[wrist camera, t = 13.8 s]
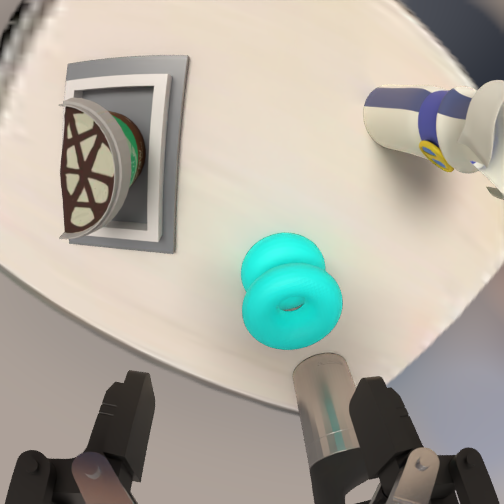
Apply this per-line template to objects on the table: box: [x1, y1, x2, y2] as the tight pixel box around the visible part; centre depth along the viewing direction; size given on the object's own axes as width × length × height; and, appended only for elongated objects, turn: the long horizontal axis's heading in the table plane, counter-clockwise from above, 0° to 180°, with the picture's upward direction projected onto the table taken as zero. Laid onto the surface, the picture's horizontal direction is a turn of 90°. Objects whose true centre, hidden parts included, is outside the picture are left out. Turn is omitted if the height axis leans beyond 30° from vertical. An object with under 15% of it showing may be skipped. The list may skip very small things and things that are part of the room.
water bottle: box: [363, 80, 504, 200], centre depth 18 cm, size 8×9×25 cm
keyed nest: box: [63, 55, 189, 254], centre depth 28 cm, size 22×14×3 cm, turn 173°
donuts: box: [241, 233, 343, 350], centre depth 32 cm, size 10×10×10 cm
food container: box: [59, 98, 146, 239], centre depth 24 cm, size 12×6×10 cm, turn 170°
